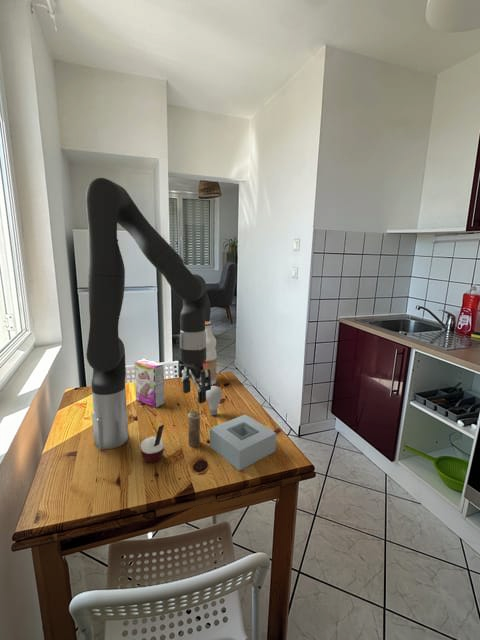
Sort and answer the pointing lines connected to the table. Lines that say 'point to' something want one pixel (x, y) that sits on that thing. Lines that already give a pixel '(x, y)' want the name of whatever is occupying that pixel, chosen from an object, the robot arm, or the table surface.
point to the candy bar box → (149, 382)
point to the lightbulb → (214, 398)
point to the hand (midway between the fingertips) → (194, 397)
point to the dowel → (194, 428)
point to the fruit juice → (210, 353)
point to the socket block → (242, 441)
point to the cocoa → (153, 447)
